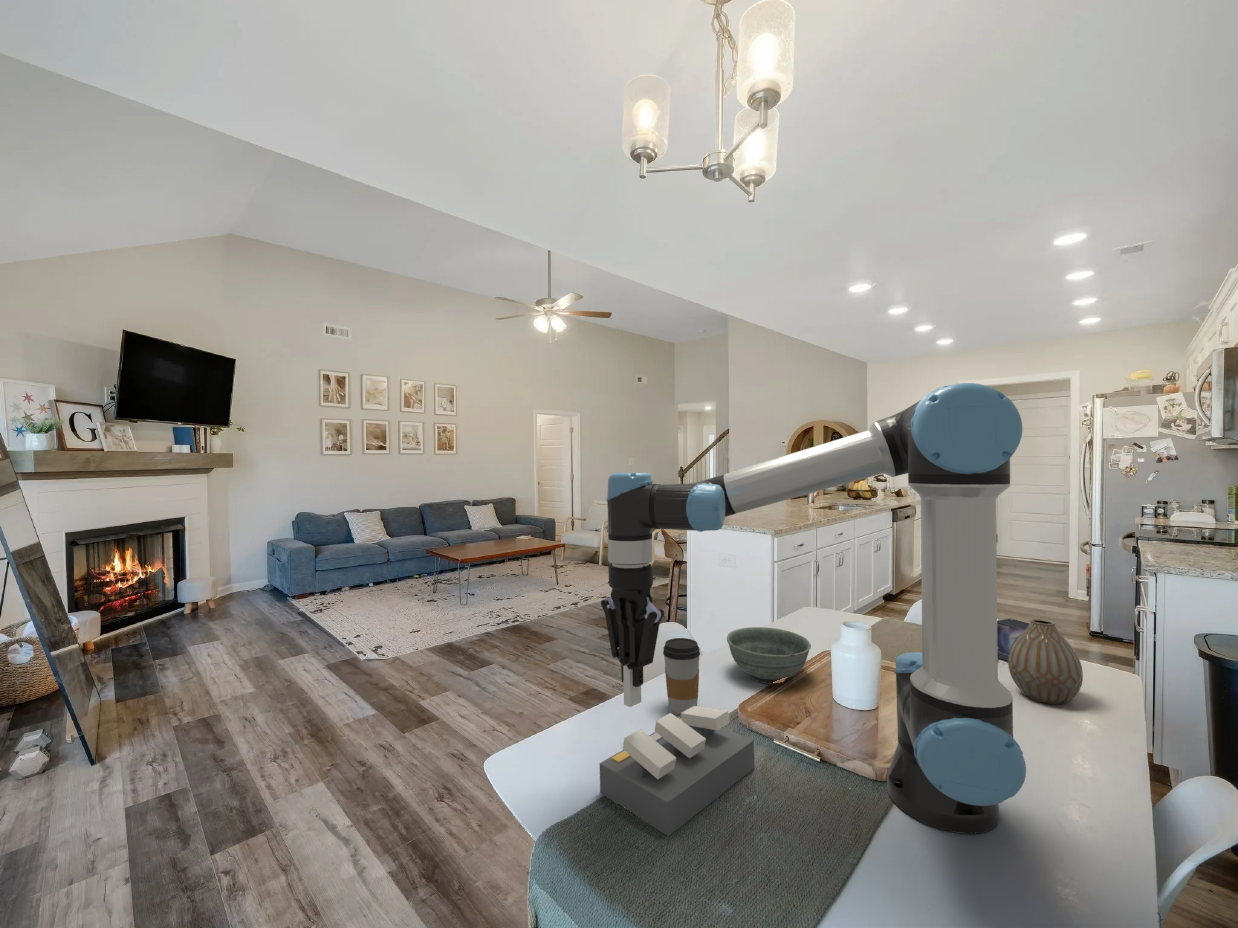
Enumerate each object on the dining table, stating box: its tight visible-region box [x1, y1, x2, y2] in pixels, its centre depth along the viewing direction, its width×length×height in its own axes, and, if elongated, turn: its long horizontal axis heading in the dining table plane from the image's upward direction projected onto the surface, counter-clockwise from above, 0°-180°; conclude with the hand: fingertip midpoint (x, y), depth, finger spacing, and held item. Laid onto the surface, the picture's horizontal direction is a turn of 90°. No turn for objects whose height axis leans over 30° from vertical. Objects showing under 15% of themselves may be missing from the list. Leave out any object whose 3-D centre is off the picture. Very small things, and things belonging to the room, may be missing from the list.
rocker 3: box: [680, 705, 731, 730], centre depth 96 cm, size 8×4×2 cm, turn 45°
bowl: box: [726, 626, 812, 685], centre depth 133 cm, size 21×21×10 cm
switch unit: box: [599, 716, 755, 837], centre depth 90 cm, size 15×24×6 cm, turn 134°
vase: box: [1007, 618, 1084, 706], centre depth 118 cm, size 13×13×18 cm
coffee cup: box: [662, 637, 701, 717], centre depth 117 cm, size 8×8×15 cm
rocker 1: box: [622, 729, 676, 779], centre depth 85 cm, size 8×4×2 cm, turn 44°
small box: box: [997, 618, 1030, 663], centre depth 138 cm, size 11×6×10 cm, turn 17°
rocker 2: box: [654, 712, 706, 758], centre depth 90 cm, size 8×4×2 cm, turn 44°
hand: (632, 702), depth 87 cm, fingers closed
